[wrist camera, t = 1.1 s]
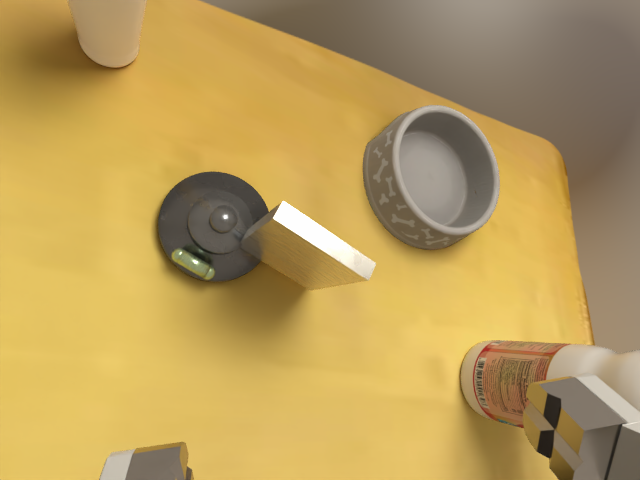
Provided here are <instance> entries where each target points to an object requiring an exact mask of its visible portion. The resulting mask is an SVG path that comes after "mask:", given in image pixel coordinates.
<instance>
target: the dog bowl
mask: <svg viewBox="0 0 640 480" xmlns="http://www.w3.org/2000/svg"><path fill="white" fill-rule="evenodd" d="M363 179H364V186H365V190H366V194H367V197H368V200H369V203H370V205H371V207H372V209H373V211H374V213H375V215H376V216H377V218H378V219H379V221H380V222H381V223H382V225H383V226H384V227H385V228H386V229H387V230H388V231H389V232H390V233H391V234H392V235H393V236H395V237H396V238H397V239H399V240H400V241H402V242H404V243H406V244H408V245H410V246H413V247H416V248H420V249H428V250H433V249H441V248H445V247H448V246H450V245H452V244H454V243H455V242H457V241H459V240H461V239H463V238H464V237H466V236H468V235H469V234H471V233H473V232H474V231H476V230H478V229H479V228H481V227H482V226H483V225H484V224H485V223H486V222H487V221H488V220H489V218H490V217H491V215H492V213H493V212H494V209H495V207H496V204H497V200H498V196H499V187H500V180H499V170H498V166H497V162H496V158H495V155H494V153H493V150H492V148H491V146H490V144H489V142H488V140H487V139H486V137H485V135H484V134H483V133H482V131H481V130H480V129H479V128H478V126H477V125H476V124H475V123H474V122H473V121H471V120H470V119H469V118H468V117H466V116H465V115H464V114H462V113H460V112H459V111H456V110H454V109H452V108H449V107H445V106H439V105H430V106H424V107H421V108H418V109H415V110H413V111H410V112H406V113H403V114H401V115H400V116H399V117H397V118H396V119H395V120H394V121H393V122H392V123H391V124H390V125H389V126H388V127H387V128H386V129H385V130H383V131H382V132H381V133H380V134H379V135H378V136H377V137H376V138H374V139H373V140H372V141H370V142H369V143H368V144H367V146H366V149H365V152H364V158H363ZM475 191H476V193H475Z"/></svg>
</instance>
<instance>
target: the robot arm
mask: <svg viewBox="0 0 640 480" xmlns="http://www.w3.org/2000/svg"><path fill="white" fill-rule="evenodd" d="M526 397H527V398H528V400H529V401H530V404H529V405H528V406H527V407H526V408H525V410H524V412H523V421H522V422H523V426H524V430H525V434H526V436H527V438H528V440H529V442H530V443H531V445H532V446H533V447H534V449H535V450H536V451H537V452H538V453H540V454H542V455H544V456H546V457H548V458H549V467H550V469H551V470H552V471H553V473H554V474H555V475H556V476H557V478H558V479H559V480H640V412H639V411H638V410H636V409H635V408H634V407H633V406H632V405H630V404H629V403H628V402H627V401H626V400H624V399H623V398H622V397H621V396H620V395H618V394H617V393H616V392H615V391H614V390H612V389H611V388H610V387H609V386H608V385H606V384H605V383H604V382H603V381H602V380H600V379H599V378H598V377H597V376H596V375H594V374H591V373H583V374H577V375H572V376H568V377H561V378H555V379H550V380H544V381H538V382H533V383H531V384H530V385H529V386H528V388H527V393H526ZM188 455H189V454H188V450H187V446H186V443H185V442H178V443H171V444H164V445H157V446H150V447H143V448H136V449H133V450H126V451H118V452H112V453H111V454H110V455H109V457H108V458H107V459H106V462H105V464H104V467H103V470H102V473H101V475H100V478H99V480H194V477H193V472H192V469H190V468H189V467H187V463H188Z"/></svg>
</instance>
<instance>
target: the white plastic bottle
mask: <svg viewBox="0 0 640 480" xmlns="http://www.w3.org/2000/svg"><path fill="white" fill-rule="evenodd" d="M583 373H591V374H594V375H596V376H597V377H598V378H599V379H600V380H602V381H603V382H604V383H605V384H606V385H608V386H609V387H610V388H611V389H612V390H614V391H615V392H616V393H617V394H618V395H620V396H621V397H622V398H623V399H624V400H626V401H627V402H628V403H629V404H630V405H632V406H633V407H634V408H635V409H636V410H638V411H639V412H640V350H634V351H629V352H624V353H617V352H615V351H613V350H611V349H607V348H604V347H599V346H593V345H584V344H560V343H541V342H521V341H500V340H489V341H483V342H480V343H478V344H476V345H475V346H473V347H472V348H471V349H470V350H469V351H468V353H467V354H466V356H465V358H464V361H463V364H462V368H461V386H462V391H463V394H464V396H465V399H466V401H467V402H468V404H469V405H470V406H471V408H472V409H473V410H474V411H476V412H477V413H478V414H480V415H481V416H484V417H486V418H488V419H491V420H495V421H499V422H502V423H506V424H510V425H514V426H517V427H521V428H524V426H523V422H522V421H523V412H524V410H525V408H526V407H527V406H528V405H529V404H530V401H529V400H528V398H527V397H526V393H527V388H528V386H529V385H530V384H531V383H533V382H538V381H544V380H550V379H555V378H561V377H568V376H572V375H577V374H583Z"/></svg>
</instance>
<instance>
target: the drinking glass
mask: <svg viewBox="0 0 640 480" xmlns="http://www.w3.org/2000/svg"><path fill="white" fill-rule="evenodd" d="M67 2H68V5H69V8H70V12H71V15H72V18H73V21H74V24H75V27H76V30H77V35H78V40H79V43H80V46H81V48H82V50H83V51H84V52H85V54H86V55H87V56H88V57H89V58H90V59H92V60H93V61H95V62H96V63H98V64H100V65H103V66H106V67H113V68H116V67H123V66H126V65H128V64H130V63H131V62H133V61H134V60H135V58H136V57H137V55H138V53H139V48H140V36H141V30H142V25H143V19H144V14H145V9H146V4H147V0H67Z"/></svg>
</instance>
